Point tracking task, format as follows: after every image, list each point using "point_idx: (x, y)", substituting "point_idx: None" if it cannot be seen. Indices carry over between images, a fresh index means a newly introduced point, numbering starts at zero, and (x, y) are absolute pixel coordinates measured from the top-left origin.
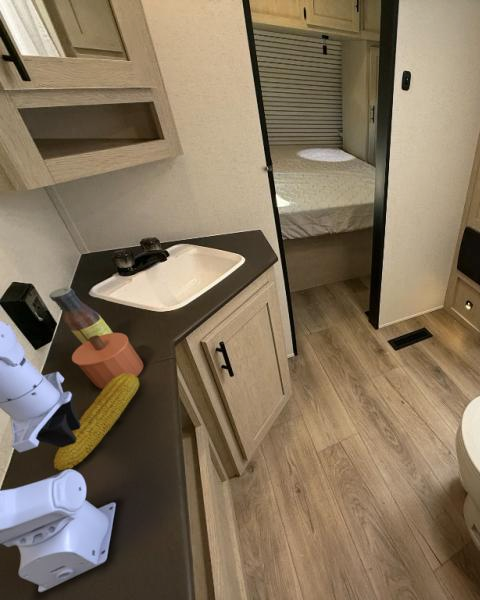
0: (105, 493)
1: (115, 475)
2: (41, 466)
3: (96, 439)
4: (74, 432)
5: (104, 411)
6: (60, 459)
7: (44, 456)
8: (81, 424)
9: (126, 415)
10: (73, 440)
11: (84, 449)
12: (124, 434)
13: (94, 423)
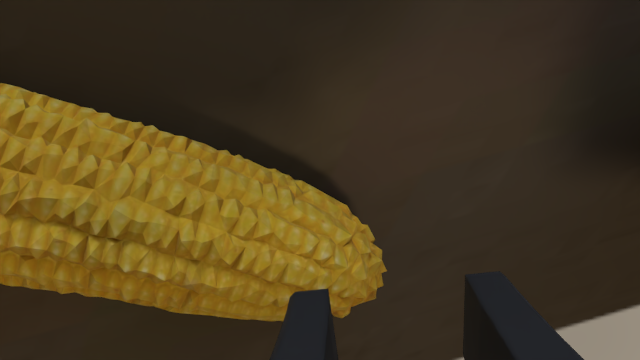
0: (587, 27)
1: (490, 4)
2: (271, 335)
3: (228, 165)
4: (191, 292)
5: (24, 176)
6: (356, 293)
7: (218, 342)
8: (134, 276)
9: (17, 58)
10: (523, 297)
11: (302, 204)
12: (183, 30)
13: (134, 207)
